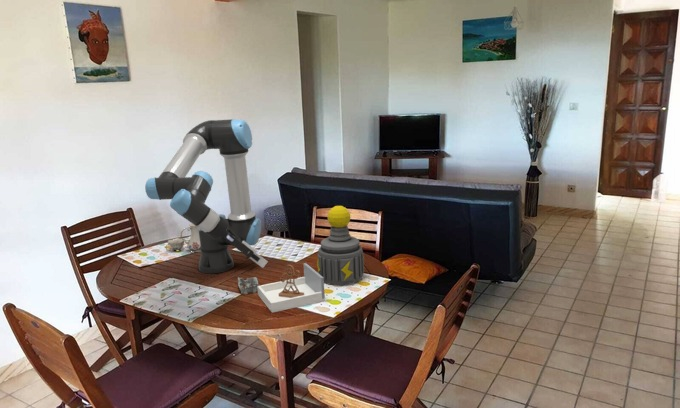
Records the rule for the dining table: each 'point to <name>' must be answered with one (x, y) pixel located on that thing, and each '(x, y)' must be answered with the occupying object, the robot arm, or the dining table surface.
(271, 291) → the holder tray
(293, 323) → the dining table surface
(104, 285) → the dining table surface
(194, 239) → the chinaware
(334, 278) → the decorative lamp
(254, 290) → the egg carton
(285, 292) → the brown openwork figurine
